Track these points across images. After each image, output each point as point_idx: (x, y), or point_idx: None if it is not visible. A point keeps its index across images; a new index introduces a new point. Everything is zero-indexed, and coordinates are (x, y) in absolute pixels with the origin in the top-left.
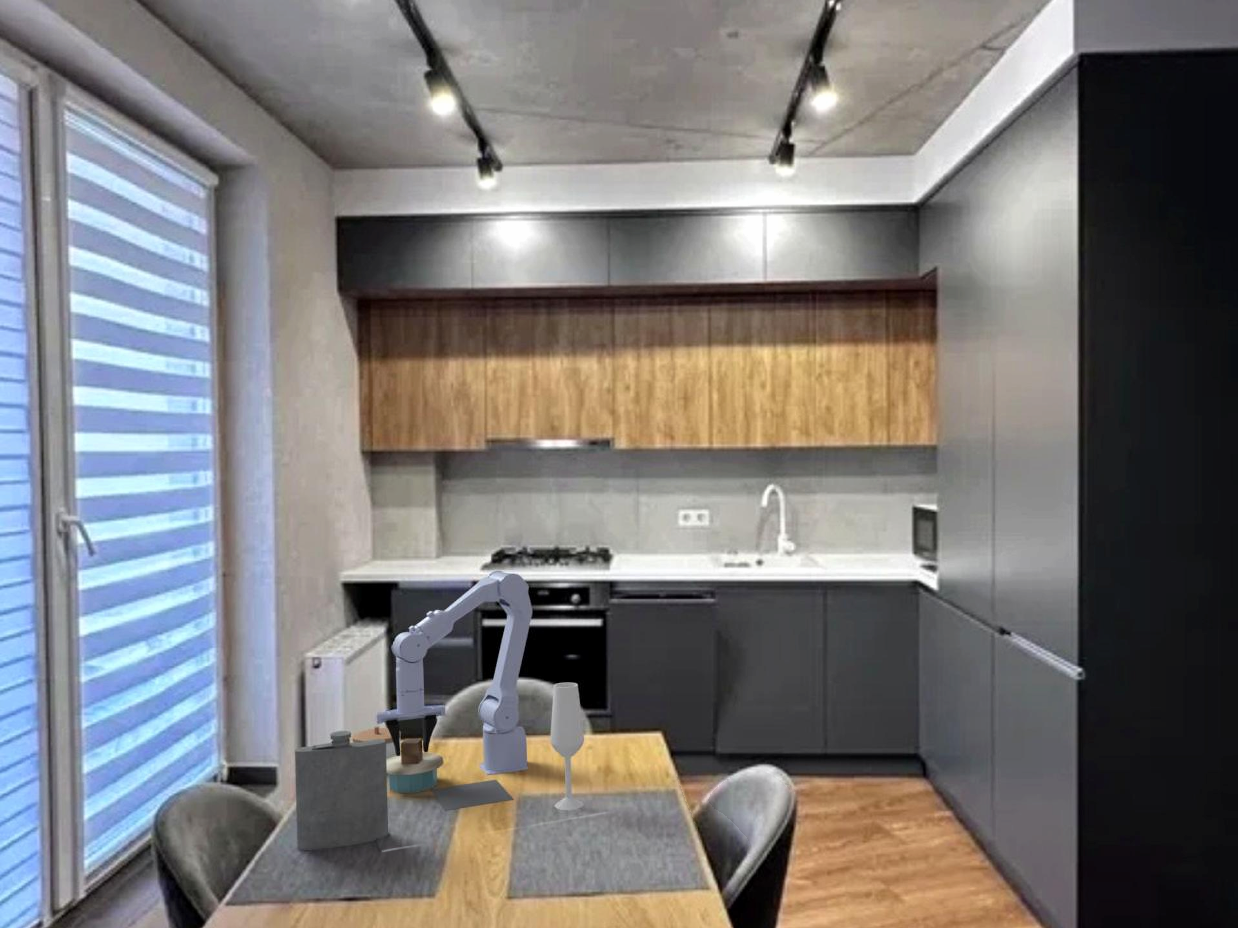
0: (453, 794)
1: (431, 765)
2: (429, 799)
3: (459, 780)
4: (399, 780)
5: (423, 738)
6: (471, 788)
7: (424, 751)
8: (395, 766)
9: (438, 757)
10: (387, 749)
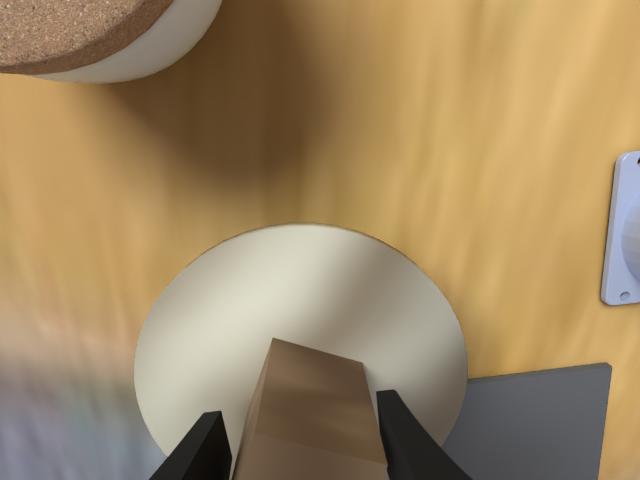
0: None
1: None
2: None
3: (486, 310)
4: None
5: (398, 454)
6: (502, 427)
7: (379, 429)
8: None
9: (447, 363)
10: (138, 61)
